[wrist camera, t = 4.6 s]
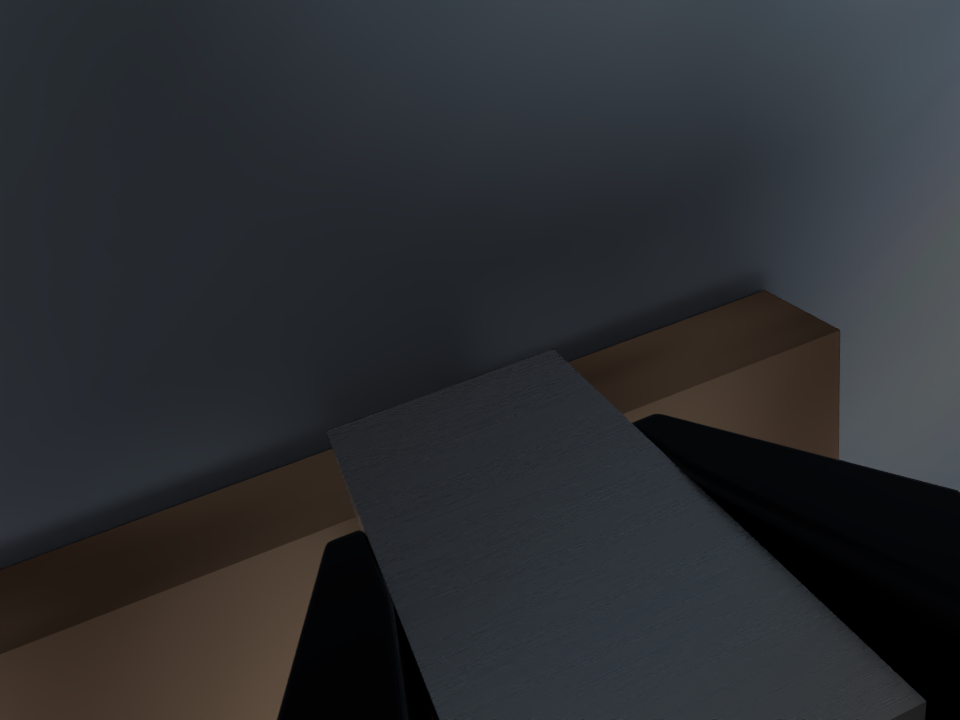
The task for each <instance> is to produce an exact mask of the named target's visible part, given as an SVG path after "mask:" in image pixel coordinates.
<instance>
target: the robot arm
mask: <svg viewBox="0 0 960 720" xmlns="http://www.w3.org/2000/svg"><path fill="white" fill-rule="evenodd" d="M632 424H633V425H634V426H635V427H636V428H638V429H639V430H640V431H641V432H642V433H643V434H644V435H645V436H646V437H647V438H648V439H649V440H650V441H651V442H652V443H653V444H654V445H656V446H657V447H658V448H659V449H660V450H661V451H662V452H663V453H664V454H665V455H666V456H667V457H668V458H669V459H670V460H671V461H672V462H673V463H674V464H675V465H676V466H678V467H679V468H680V469H681V470H682V471H683V472H684V473H685V474H686V475H687V476H688V477H689V478H690V479H692V480H693V481H694V482H695V483H696V484H697V485H698V486H699V487H700V488H701V489H702V490H703V491H704V492H705V493H706V494H707V495H708V496H710V497H711V498H712V499H713V500H714V501H715V502H716V503H717V504H718V505H719V506H720V507H721V508H722V509H723V510H724V511H725V512H726V513H728V514H729V515H730V516H731V517H732V518H733V519H734V520H735V521H736V522H737V523H738V524H739V525H740V526H741V527H742V528H743V529H744V530H746V531H747V532H748V533H749V534H750V535H751V536H752V537H753V538H754V539H755V540H756V541H757V542H758V543H759V544H760V545H761V546H762V547H764V548H765V549H766V550H767V551H768V552H769V553H770V554H771V555H772V556H773V557H774V558H775V559H776V560H777V561H778V562H779V563H781V564H782V565H783V566H784V567H785V568H786V569H787V570H788V571H789V572H790V573H791V574H792V575H793V576H794V577H795V578H796V579H797V580H799V581H800V582H801V583H802V584H803V585H804V586H805V587H806V588H807V589H808V590H809V591H810V592H811V593H812V594H813V595H814V596H815V597H817V598H818V599H819V600H820V601H821V602H822V603H823V604H824V605H825V606H826V607H827V608H828V609H829V610H830V611H831V612H832V613H833V614H835V615H836V616H837V617H838V618H839V619H840V620H841V621H842V622H843V623H844V624H845V625H846V626H847V627H848V628H849V629H850V630H851V631H853V632H854V633H855V634H856V635H857V636H858V637H859V638H860V639H861V640H862V641H863V642H864V643H865V644H866V645H867V646H868V647H869V648H871V649H872V650H873V651H874V652H875V653H876V654H877V655H878V656H879V657H880V658H881V659H882V660H883V661H884V662H885V663H886V664H887V665H889V666H890V667H891V668H892V669H893V670H894V671H895V672H896V673H897V674H898V675H899V676H900V677H901V678H902V679H903V680H904V681H905V682H907V683H908V684H909V685H910V686H911V687H912V688H913V689H914V690H915V691H916V692H917V693H918V694H919V695H920V696H921V697H922V698H923V699H925V700H926V711H925V720H960V492H959V491H957V490H954V489H950V488H946V487H942V486H938V485H934V484H931V483H927V482H923V481H919V480H915V479H911V478H907V477H904V476H900V475H896V474H892V473H888V472H884V471H880V470H876V469H873V468H869V467H865V466H861V465H857V464H853V463H849V462H846V461H842V460H838V459H834V458H830V457H826V456H822V455H818V454H815V453H811V452H807V451H803V450H799V449H795V448H791V447H787V446H784V445H780V444H776V443H772V442H768V441H764V440H760V439H757V438H753V437H749V436H745V435H741V434H737V433H733V432H729V431H726V430H722V429H718V428H714V427H710V426H706V425H702V424H699V423H695V422H691V421H687V420H683V419H679V418H675V417H671V416H668V415H664V414H652V415H650V416H647V417H645V418H642V419H640V420H637V421H635V422H632ZM277 720H433V719H432V716H431V713H430V710H429V707H428V704H427V701H426V698H425V696H424V693H423V690H422V687H421V684H420V681H419V678H418V675H417V672H416V669H415V666H414V664H413V661H412V658H411V655H410V652H409V649H408V646H407V643H406V640H405V638H404V635H403V632H402V629H401V626H400V623H399V620H398V617H397V614H396V611H395V609H394V606H393V603H392V600H391V597H390V594H389V591H388V588H387V586H386V583H385V581H384V578H383V576H382V573H381V571H380V568H379V566H378V563H377V561H376V558H375V556H374V553H373V551H372V548H371V546H370V544H369V541H368V539H367V536H366V534H365V533H364V532H363V531H360V530H358V531H354V532H352V533H349V534H347V535H344V536H342V537H339V538H337V539H334V540H331V541H330V542H328V543H327V544H326V546H325V548H324V552H323V555H322V559H321V562H320V566H319V570H318V573H317V577H316V580H315V584H314V588H313V591H312V595H311V598H310V602H309V605H308V609H307V613H306V616H305V620H304V623H303V627H302V631H301V634H300V638H299V641H298V645H297V649H296V652H295V656H294V659H293V663H292V667H291V670H290V674H289V677H288V681H287V685H286V688H285V692H284V695H283V699H282V703H281V706H280V710H279V713H278V717H277Z"/></svg>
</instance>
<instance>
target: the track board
mask: <svg viewBox="0 0 960 720" xmlns="http://www.w3.org/2000/svg"><path fill="white" fill-rule="evenodd" d="M568 363H569V364H570V365H571V366H572V367H573V368H574V369H575V370H576V371H577V372H578V373H579V374H580V375H581V376H582V377H584V378H585V379H586V380H587V381H588V382H589V383H590V384H591V385H592V386H593V387H594V388H595V389H596V390H597V391H598V392H599V393H600V394H602V395H603V396H604V397H605V398H606V399H607V400H608V401H609V402H610V403H611V404H612V405H613V406H614V407H615V408H616V409H617V410H618V411H620V412H621V413H622V414H623V415H624V416H625V417H626V418H627V419H628V420H629V421H630V422H631V423H632V422H635V421H637V420H640V419H642V418H645V417H647V416H650V415H652V414H664V415H668V416H671V417H675V418H679V419H683V420H687V421H691V422H695V423H699V424H702V425H706V426H710V427H714V428H718V429H722V430H726V431H729V432H733V433H737V434H741V435H745V436H749V437H753V438H757V439H760V440H764V441H768V442H772V443H776V444H780V445H784V446H787V447H791V448H795V449H799V450H803V451H807V452H811V453H815V454H818V455H822V456H826V457H830V458H834V459H838V460H839V384H840V330H839V329H837V328H835V327H833V326H831V325H830V324H828V323H826V322H824V321H822V320H820V319H818V318H816V317H815V316H813V315H811V314H809V313H807V312H805V311H803V310H801V309H799V308H798V307H796V306H794V305H792V304H790V303H788V302H786V301H784V300H782V299H781V298H779V297H777V296H775V295H773V294H771V293H769V292H767V291H765V290H764V291H762V292H759V293H756V294H753V295H751V296H748V297H745V298H743V299H740V300H737V301H734V302H732V303H729V304H726V305H723V306H721V307H718V308H715V309H712V310H710V311H707V312H704V313H701V314H699V315H696V316H693V317H691V318H688V319H685V320H682V321H680V322H677V323H674V324H671V325H669V326H666V327H663V328H660V329H658V330H655V331H652V332H650V333H647V334H644V335H641V336H639V337H636V338H633V339H630V340H628V341H625V342H622V343H619V344H617V345H614V346H611V347H609V348H606V349H603V350H600V351H598V352H595V353H592V354H589V355H587V356H584V357H581V358H578V359H576V360H573V361H570V362H568ZM358 530H360V528H359V525H358V522H357V519H356V516H355V513H354V510H353V507H352V505H351V502H350V499H349V496H348V493H347V490H346V487H345V484H344V481H343V478H342V475H341V473H340V470H339V467H338V464H337V461H336V458H335V455H334V452H333V449H330V450H327V451H324V452H322V453H319V454H316V455H313V456H311V457H308V458H305V459H302V460H300V461H297V462H294V463H291V464H289V465H286V466H283V467H281V468H278V469H275V470H272V471H270V472H267V473H264V474H261V475H259V476H256V477H253V478H250V479H248V480H245V481H242V482H239V483H237V484H234V485H231V486H229V487H226V488H223V489H220V490H218V491H215V492H212V493H209V494H207V495H204V496H201V497H198V498H196V499H193V500H190V501H188V502H185V503H182V504H179V505H177V506H174V507H171V508H168V509H166V510H163V511H160V512H157V513H155V514H152V515H149V516H147V517H144V518H141V519H138V520H136V521H133V522H130V523H127V524H125V525H122V526H119V527H116V528H114V529H111V530H108V531H106V532H103V533H100V534H97V535H95V536H92V537H89V538H86V539H84V540H81V541H78V542H75V543H73V544H70V545H67V546H65V547H62V548H59V549H56V550H54V551H51V552H48V553H45V554H43V555H40V556H37V557H34V558H32V559H29V560H26V561H24V562H21V563H18V564H15V565H13V566H10V567H7V568H4V569H2V570H0V720H277V717H278V713H279V710H280V706H281V703H282V699H283V695H284V692H285V688H286V685H287V681H288V677H289V674H290V670H291V667H292V663H293V659H294V656H295V652H296V649H297V645H298V641H299V638H300V634H301V631H302V627H303V623H304V620H305V616H306V613H307V609H308V605H309V602H310V598H311V595H312V591H313V588H314V584H315V580H316V577H317V573H318V570H319V566H320V562H321V559H322V555H323V552H324V548H325V546H326V544H327V543H328V542H330V541H331V540H334V539H337V538H339V537H342V536H344V535H347V534H349V533H352V532H354V531H358Z"/></svg>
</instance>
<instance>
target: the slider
mask: <svg viewBox="0 0 960 720" xmlns="http://www.w3.org/2000/svg"><path fill="white" fill-rule="evenodd" d="M326 432H327V435H328V438H329V441H330V444H331V446H332V449H333V452H334V455H335V458H336V461H337V464H338V467H339V470H340V473H341V475H342V478H343V481H344V484H345V487H346V490H347V493H348V496H349V499H350V502H351V505H352V507H353V510H354V513H355V516H356V519H357V522H358V525H359V528H360V531H363V532H364V533H365V534H366V536H367V539H368V541H369V544H370V546H371V548H372V551H373V553H374V556H375V558H376V561H377V563H378V566H379V568H380V571H381V573H382V576H383V578H384V581H385V583H386V586H387V588H388V591H389V594H390V597H391V600H392V603H393V606H394V609H395V611H396V614H397V617H398V620H399V623H400V626H401V629H402V632H403V635H404V638H405V640H406V643H407V646H408V649H409V652H410V655H411V658H412V661H413V664H414V666H415V669H416V672H417V675H418V678H419V681H420V684H421V687H422V690H423V693H424V696H425V698H426V701H427V704H428V707H429V710H430V713H431V716H432V719H433V720H925V711H926V700H925V699H923V698H922V697H921V696H920V695H919V694H918V693H917V692H916V691H915V690H914V689H913V688H912V687H911V686H910V685H909V684H908V683H907V682H905V681H904V680H903V679H902V678H901V677H900V676H899V675H898V674H897V673H896V672H895V671H894V670H893V669H892V668H891V667H890V666H889V665H887V664H886V663H885V662H884V661H883V660H882V659H881V658H880V657H879V656H878V655H877V654H876V653H875V652H874V651H873V650H872V649H871V648H869V647H868V646H867V645H866V644H865V643H864V642H863V641H862V640H861V639H860V638H859V637H858V636H857V635H856V634H855V633H854V632H853V631H851V630H850V629H849V628H848V627H847V626H846V625H845V624H844V623H843V622H842V621H841V620H840V619H839V618H838V617H837V616H836V615H835V614H833V613H832V612H831V611H830V610H829V609H828V608H827V607H826V606H825V605H824V604H823V603H822V602H821V601H820V600H819V599H818V598H817V597H815V596H814V595H813V594H812V593H811V592H810V591H809V590H808V589H807V588H806V587H805V586H804V585H803V584H802V583H801V582H800V581H799V580H797V579H796V578H795V577H794V576H793V575H792V574H791V573H790V572H789V571H788V570H787V569H786V568H785V567H784V566H783V565H782V564H781V563H779V562H778V561H777V560H776V559H775V558H774V557H773V556H772V555H771V554H770V553H769V552H768V551H767V550H766V549H765V548H764V547H762V546H761V545H760V544H759V543H758V542H757V541H756V540H755V539H754V538H753V537H752V536H751V535H750V534H749V533H748V532H747V531H746V530H744V529H743V528H742V527H741V526H740V525H739V524H738V523H737V522H736V521H735V520H734V519H733V518H732V517H731V516H730V515H729V514H728V513H726V512H725V511H724V510H723V509H722V508H721V507H720V506H719V505H718V504H717V503H716V502H715V501H714V500H713V499H712V498H711V497H710V496H708V495H707V494H706V493H705V492H704V491H703V490H702V489H701V488H700V487H699V486H698V485H697V484H696V483H695V482H694V481H693V480H692V479H690V478H689V477H688V476H687V475H686V474H685V473H684V472H683V471H682V470H681V469H680V468H679V467H678V466H676V465H675V464H674V463H673V462H672V461H671V460H670V459H669V458H668V457H667V456H666V455H665V454H664V453H663V452H662V451H661V450H660V449H659V448H658V447H657V446H656V445H654V444H653V443H652V442H651V441H650V440H649V439H648V438H647V437H646V436H645V435H644V434H643V433H642V432H641V431H640V430H639V429H638V428H636V427H635V426H634V425H633V424H632V423H631V422H630V421H629V420H628V419H627V418H626V417H625V416H624V415H623V414H622V413H621V412H620V411H618V410H617V409H616V408H615V407H614V406H613V405H612V404H611V403H610V402H609V401H608V400H607V399H606V398H605V397H604V396H603V395H602V394H600V393H599V392H598V391H597V390H596V389H595V388H594V387H593V386H592V385H591V384H590V383H589V382H588V381H587V380H586V379H585V378H584V377H582V376H581V375H580V374H579V373H578V372H577V371H576V370H575V369H574V368H573V367H572V366H571V365H570V364H569V363H568V362H567V361H566V360H564V359H563V358H562V357H561V356H560V355H559V354H558V353H557V352H556V351H555V350H554V349H552V350H549V351H547V352H544V353H541V354H538V355H536V356H533V357H530V358H527V359H524V360H522V361H519V362H516V363H513V364H511V365H508V366H505V367H502V368H499V369H497V370H494V371H491V372H488V373H486V374H483V375H480V376H477V377H475V378H472V379H469V380H466V381H463V382H461V383H458V384H455V385H452V386H450V387H447V388H444V389H441V390H438V391H436V392H433V393H430V394H427V395H425V396H422V397H419V398H416V399H414V400H411V401H408V402H405V403H402V404H400V405H397V406H394V407H391V408H389V409H386V410H383V411H380V412H377V413H375V414H372V415H369V416H366V417H364V418H361V419H358V420H355V421H353V422H350V423H347V424H344V425H341V426H339V427H336V428H333V429H330V430H328V431H326Z"/></svg>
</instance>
